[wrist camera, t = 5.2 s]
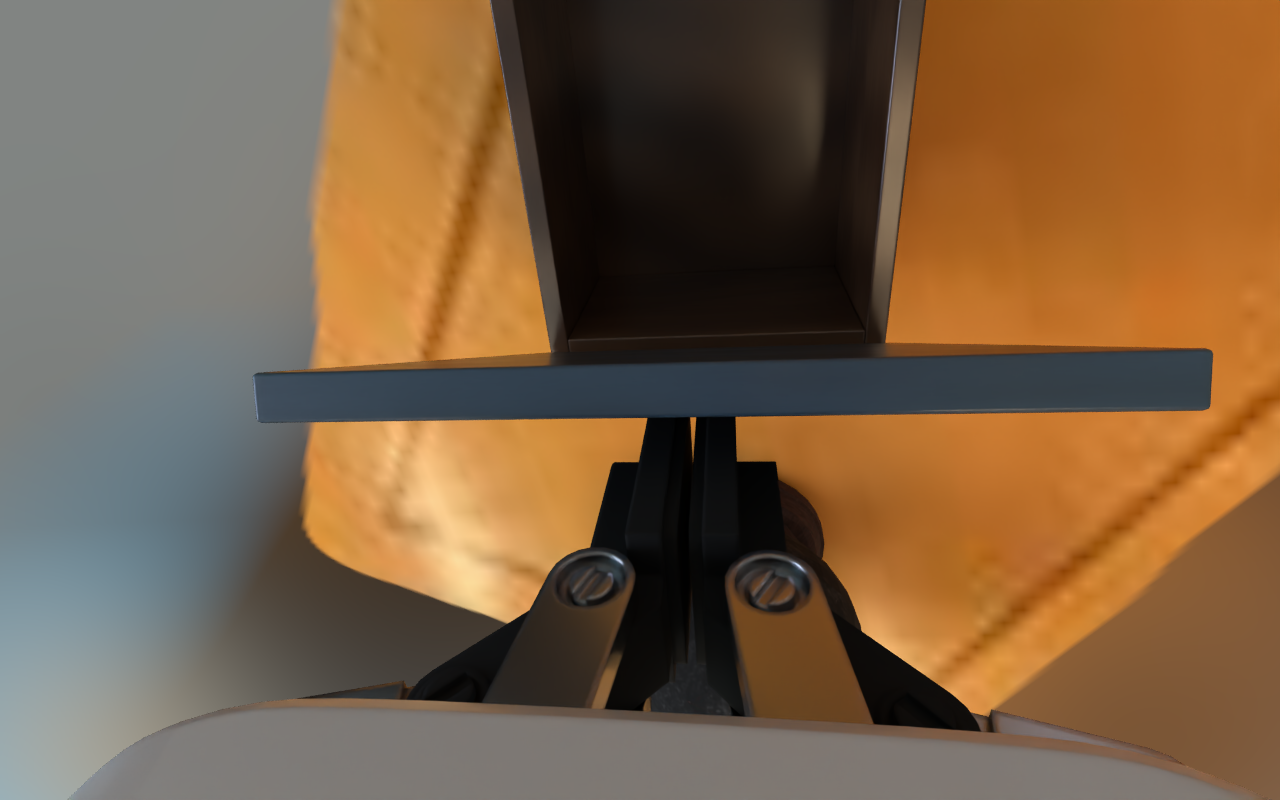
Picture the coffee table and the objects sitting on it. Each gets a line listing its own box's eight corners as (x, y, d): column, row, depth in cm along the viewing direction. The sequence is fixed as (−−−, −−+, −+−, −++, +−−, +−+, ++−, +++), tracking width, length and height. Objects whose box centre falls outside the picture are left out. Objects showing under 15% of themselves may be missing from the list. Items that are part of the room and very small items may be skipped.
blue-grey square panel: (250, 372, 10) (255, 423, 10) (1216, 348, 8) (1213, 410, 8) (548, 352, 26) (549, 371, 26) (887, 342, 24) (887, 363, 24)
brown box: (543, -66, 26) (470, -107, 19) (878, -109, 24) (947, -174, 17) (589, 286, 34) (551, 357, 26) (847, 274, 32) (885, 348, 25)
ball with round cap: (695, 426, 38) (680, 627, 25) (880, 512, 39) (955, 742, 27) (609, 562, 44) (563, 776, 32) (771, 630, 46) (789, 861, 33)
